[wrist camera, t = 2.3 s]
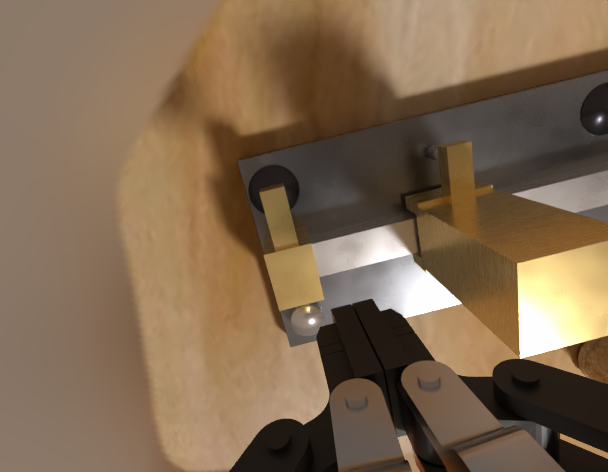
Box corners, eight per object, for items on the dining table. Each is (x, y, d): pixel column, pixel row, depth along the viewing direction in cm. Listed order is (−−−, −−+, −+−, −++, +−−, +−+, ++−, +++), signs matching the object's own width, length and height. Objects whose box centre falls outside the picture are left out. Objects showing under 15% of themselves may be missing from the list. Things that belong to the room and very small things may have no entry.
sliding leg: (468, 132, 19) (649, 141, 10) (477, 243, 21) (631, 334, 12) (397, 150, 19) (514, 174, 10) (412, 260, 21) (520, 362, 12)
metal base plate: (678, 51, 20) (720, 44, 18) (658, 242, 24) (691, 252, 22) (239, 158, 20) (235, 162, 18) (289, 336, 24) (291, 354, 22)
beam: (690, 77, 20) (762, 69, 17) (678, 185, 22) (740, 194, 19) (249, 185, 19) (246, 196, 16) (277, 285, 21) (279, 311, 18)
